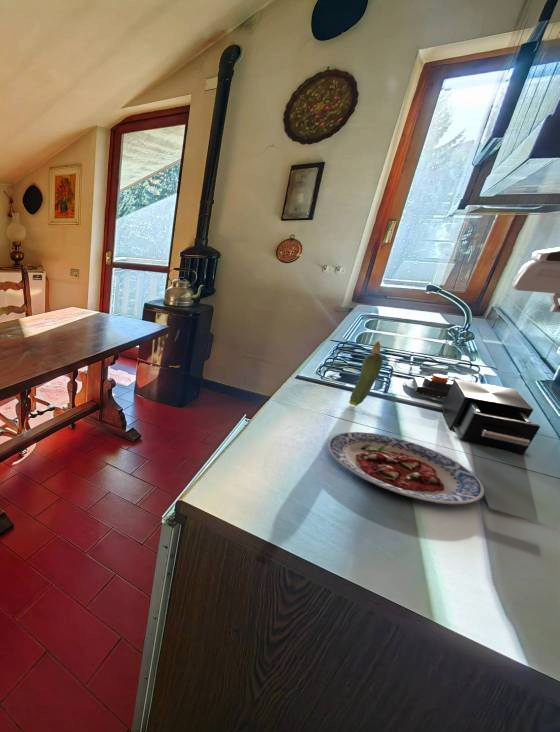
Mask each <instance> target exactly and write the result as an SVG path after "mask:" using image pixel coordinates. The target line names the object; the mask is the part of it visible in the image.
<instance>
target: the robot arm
mask: <svg viewBox="0 0 560 732" xmlns="http://www.w3.org/2000/svg"><path fill="white" fill-rule="evenodd" d="M530 258H531V260H530V261H528V262H526V263H524V264H523V265H522V266H521V267H520V269H519V270H518V272H517V273H516V274H515V276H514V278H513V280H512V282H511V285H510V286H511V287H512V290H515V291H520V292H532V293H546V294H550V295H549V298H550V303H551V304H552V305H551V307H550V308H549V312H551V313H560V302H559V299H560V247H559V246H558V247H553V248H547V249H541V250H536V251H534V252H532V255H531V257H530Z"/></svg>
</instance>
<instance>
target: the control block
mask: <svg viewBox="0 0 560 732" xmlns="http://www.w3.org/2000/svg"><path fill="white" fill-rule="evenodd" d="M432 376H433V375H426V376H424V378H423V377H417V376H414V377H413V378H412V381H411V382H412V383H413V384H412V383H411V384H412V386H414V387H413V389H415V390H414V393H416V392H419V393H418V394H421V393H424V394H423V395H426V394H429V395H428V396H431V395H434V397H437V396H440V397H439V398H442V397H445V398H444V399H446V397H447V395H448V393H449V390H450V388H451V386H452V384H453V382H454V381H452V380H450V379H448V381H447V383H443V382H437V381H434V380H432Z"/></svg>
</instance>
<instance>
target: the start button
mask: <svg viewBox="0 0 560 732" xmlns="http://www.w3.org/2000/svg"><path fill="white" fill-rule="evenodd" d="M431 376H432V380H434V381H437V382H443V383H447V381H448V380H449V378H450V377H449V376H448V375H445V374H441V373H433V374H432V375H431Z"/></svg>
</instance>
